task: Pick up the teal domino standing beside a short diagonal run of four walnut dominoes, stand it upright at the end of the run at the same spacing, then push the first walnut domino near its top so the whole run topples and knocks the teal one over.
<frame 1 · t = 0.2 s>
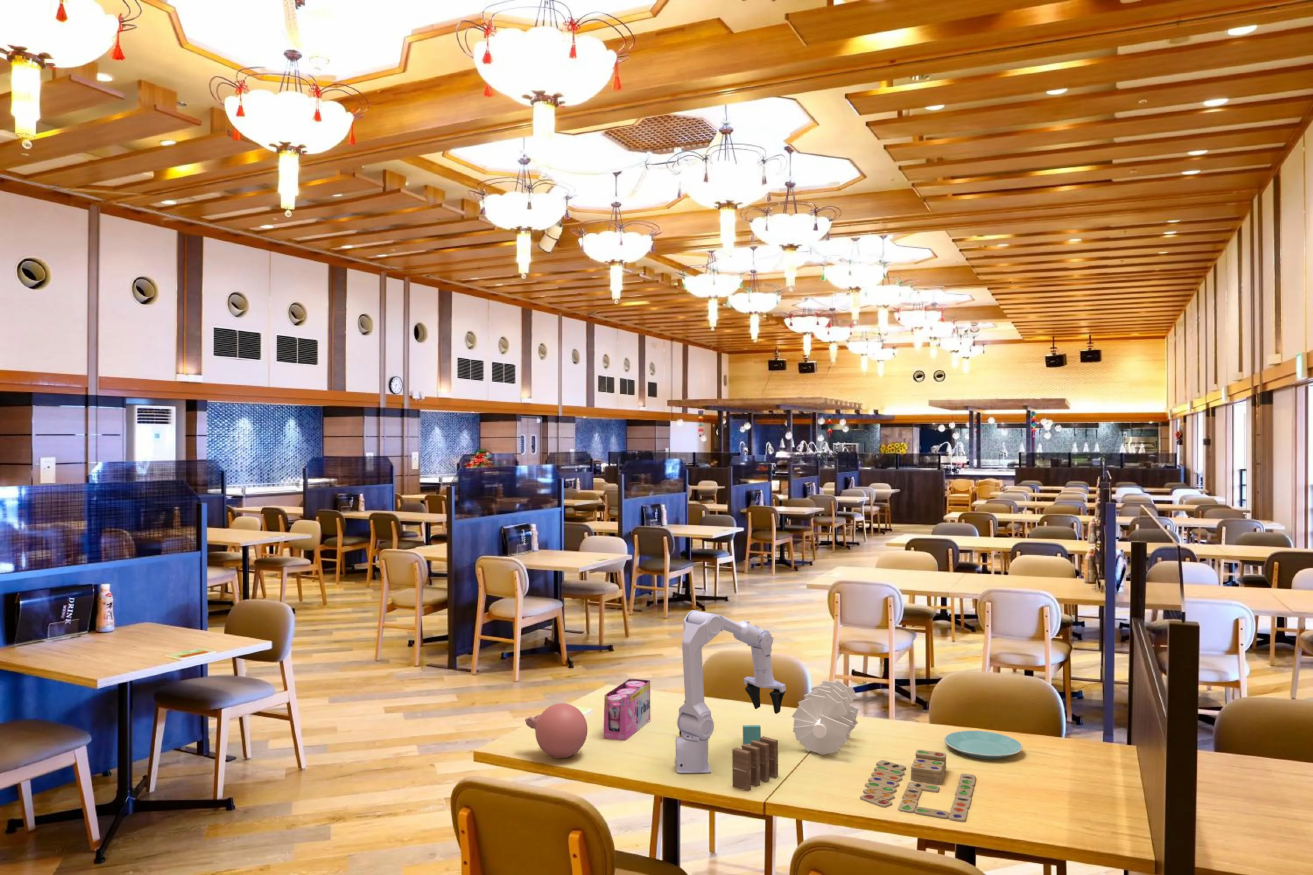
hand: (767, 710, 266), 11 cm above the table, tool pointing down, fingers open, 7 cm apart
walnut domino 2: (750, 783, 234), on the table
walnut domino 3: (760, 779, 237), on the table
spiral staircase: (826, 745, 265), on the table
walnut domino 1: (741, 787, 231), on the table
teal domino: (751, 760, 251), on the table
medicine bottle: (694, 737, 273), on the table
pink water balloon: (554, 755, 256), on the table
pile of dominoes: (918, 791, 229), on the table
walnut domino 4: (769, 774, 240), on the table
plate: (982, 751, 260), on the table
gum box: (627, 729, 281), on the table
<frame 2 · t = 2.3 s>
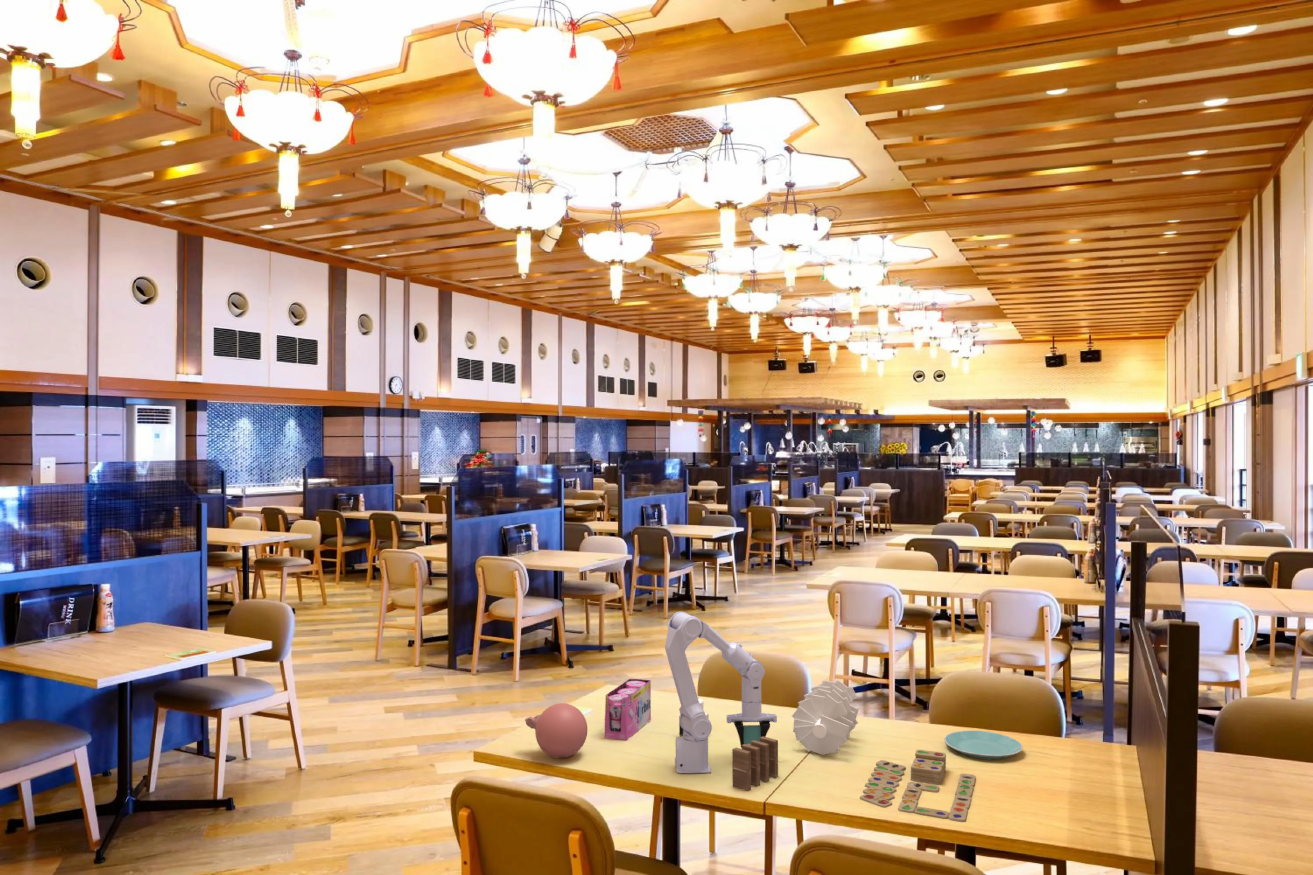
hand: (751, 746, 251), 4 cm above the table, tool pointing down, fingers closed on teal domino, 5 cm apart
teal domino: (751, 760, 251), on the table, touching gripper
everything else where it was.
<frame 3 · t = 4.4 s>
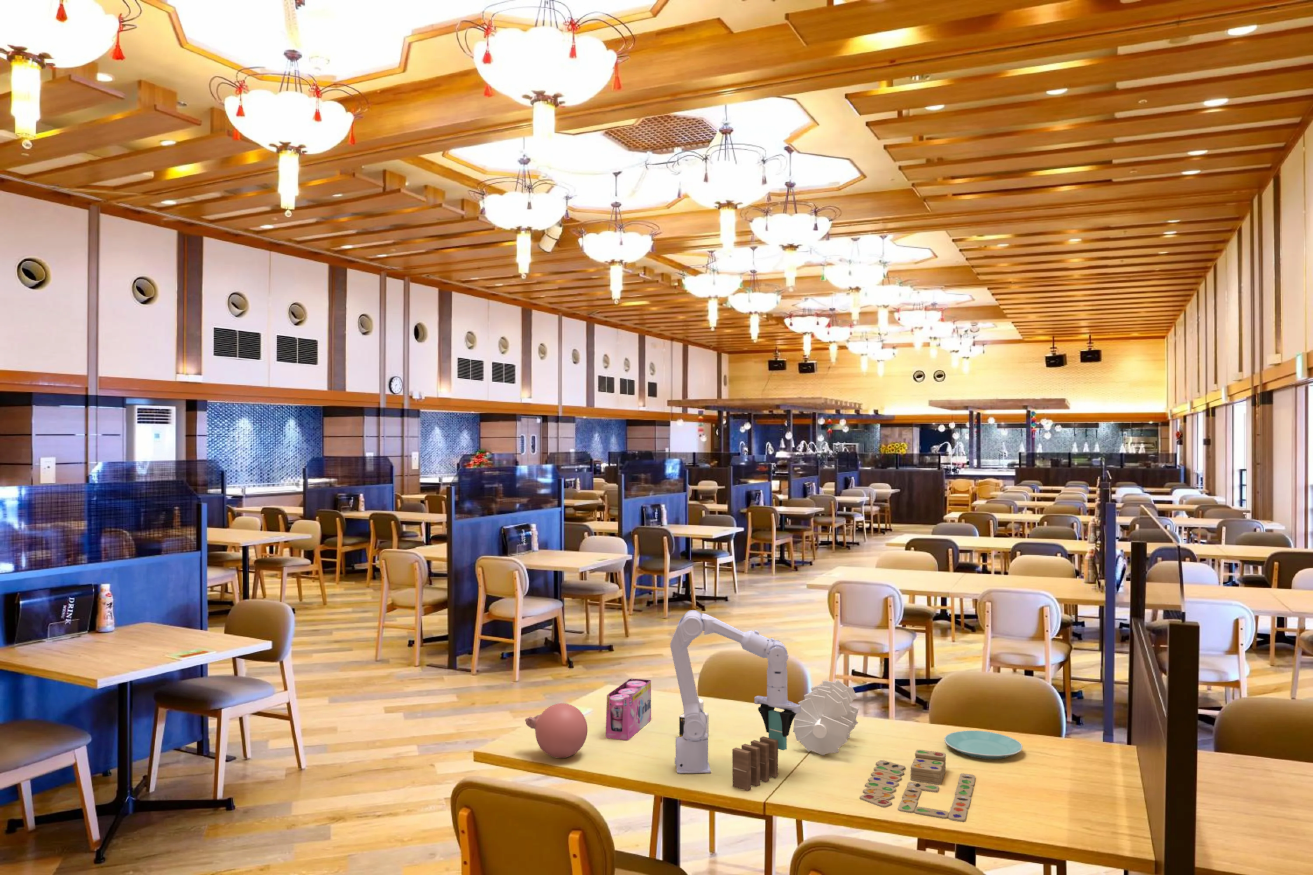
hand: (777, 733, 243), 10 cm above the table, tool pointing down, fingers closed on teal domino, 5 cm apart
teal domino: (777, 747, 243), point 6 cm above the table, touching gripper
everything else where it was.
when the fingers open (4 cm above the table, at t = 6.4 s): teal domino stays where it is, on the table.
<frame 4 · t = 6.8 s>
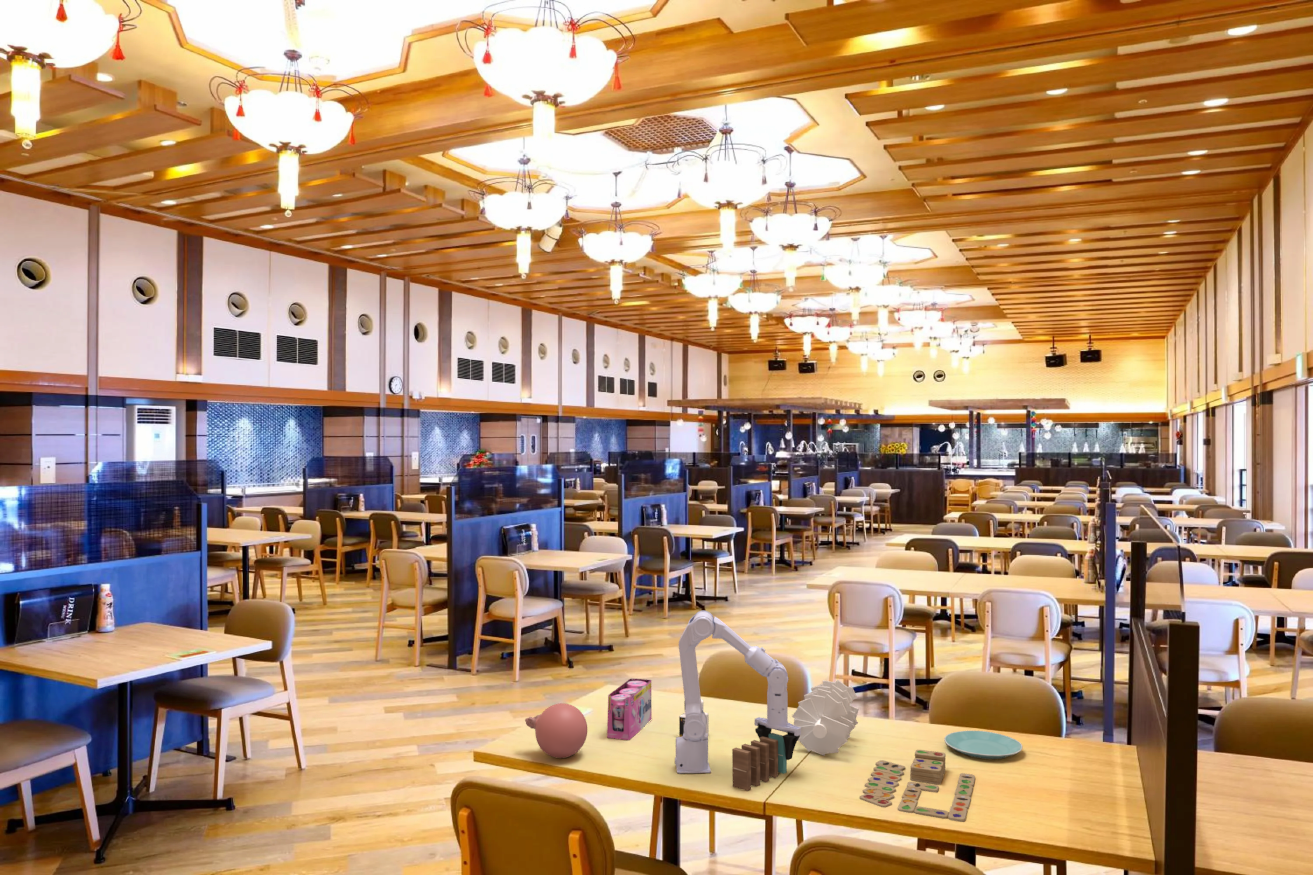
hand: (777, 755, 243), 4 cm above the table, tool pointing down, fingers open, 7 cm apart
teal domino: (777, 770, 243), on the table
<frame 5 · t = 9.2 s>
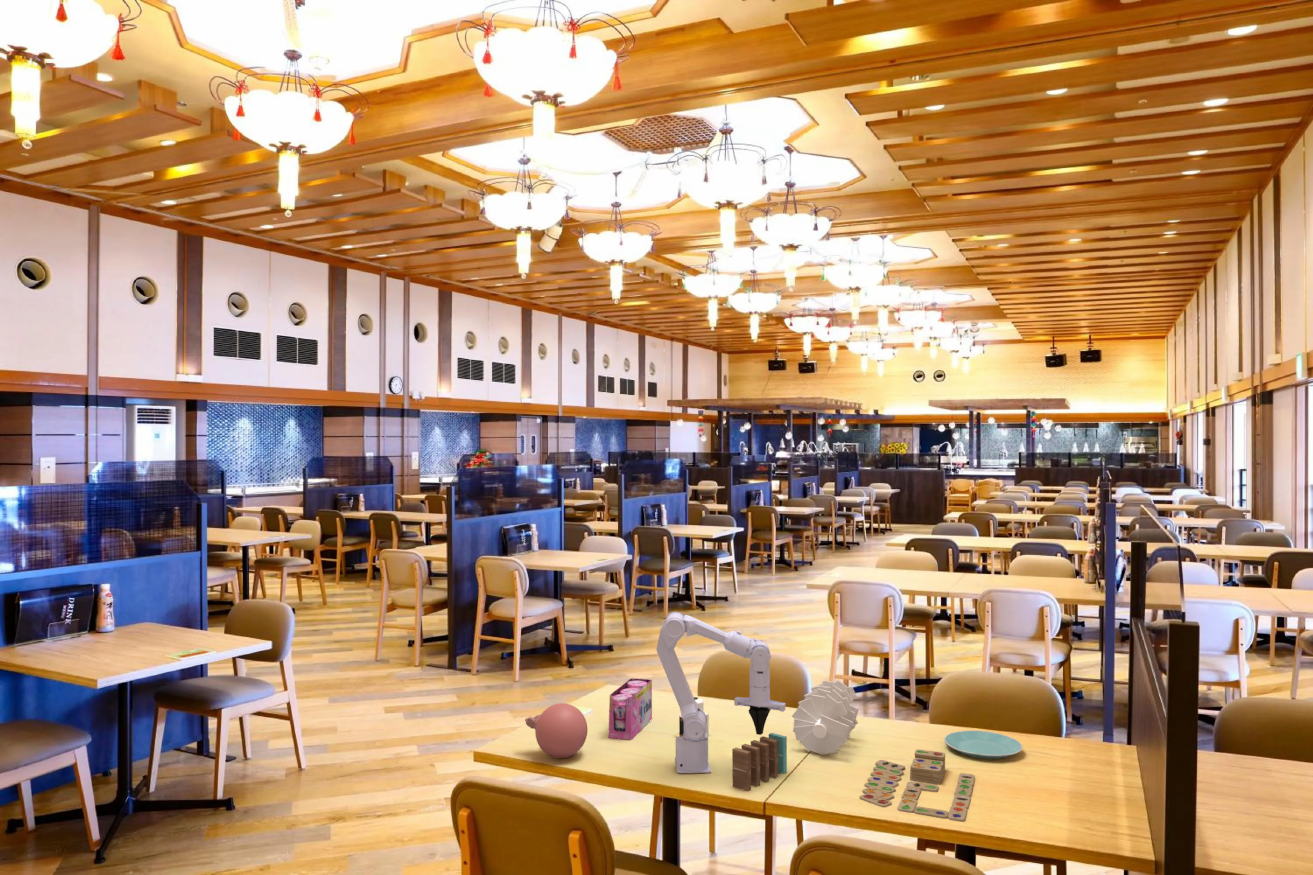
hand: (759, 733, 244), 10 cm above the table, tool pointing down, fingers closed
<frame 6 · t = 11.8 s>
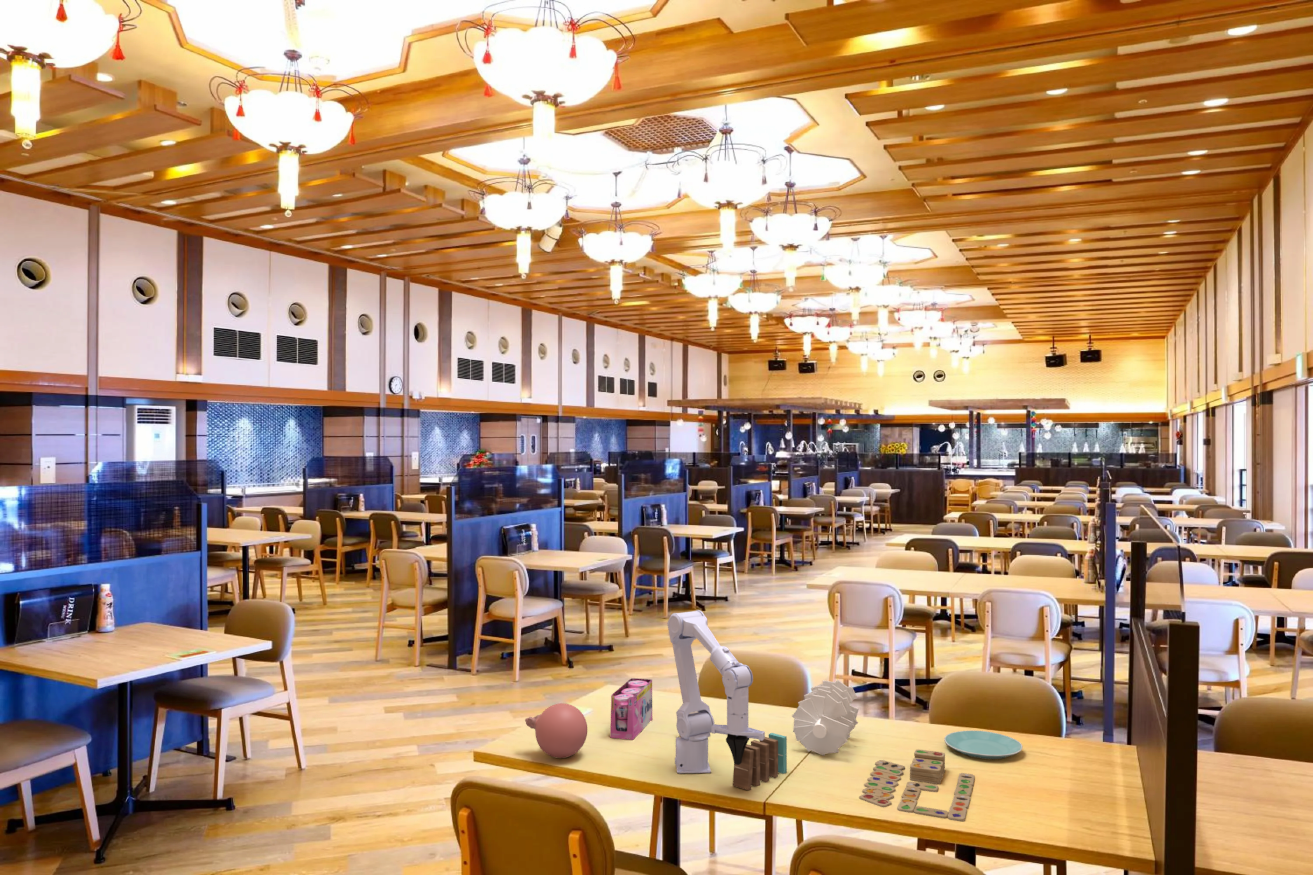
hand: (737, 763, 230), 7 cm above the table, tool pointing down, fingers closed
walnut domino 1: (741, 787, 231), on the table, tilted 7°
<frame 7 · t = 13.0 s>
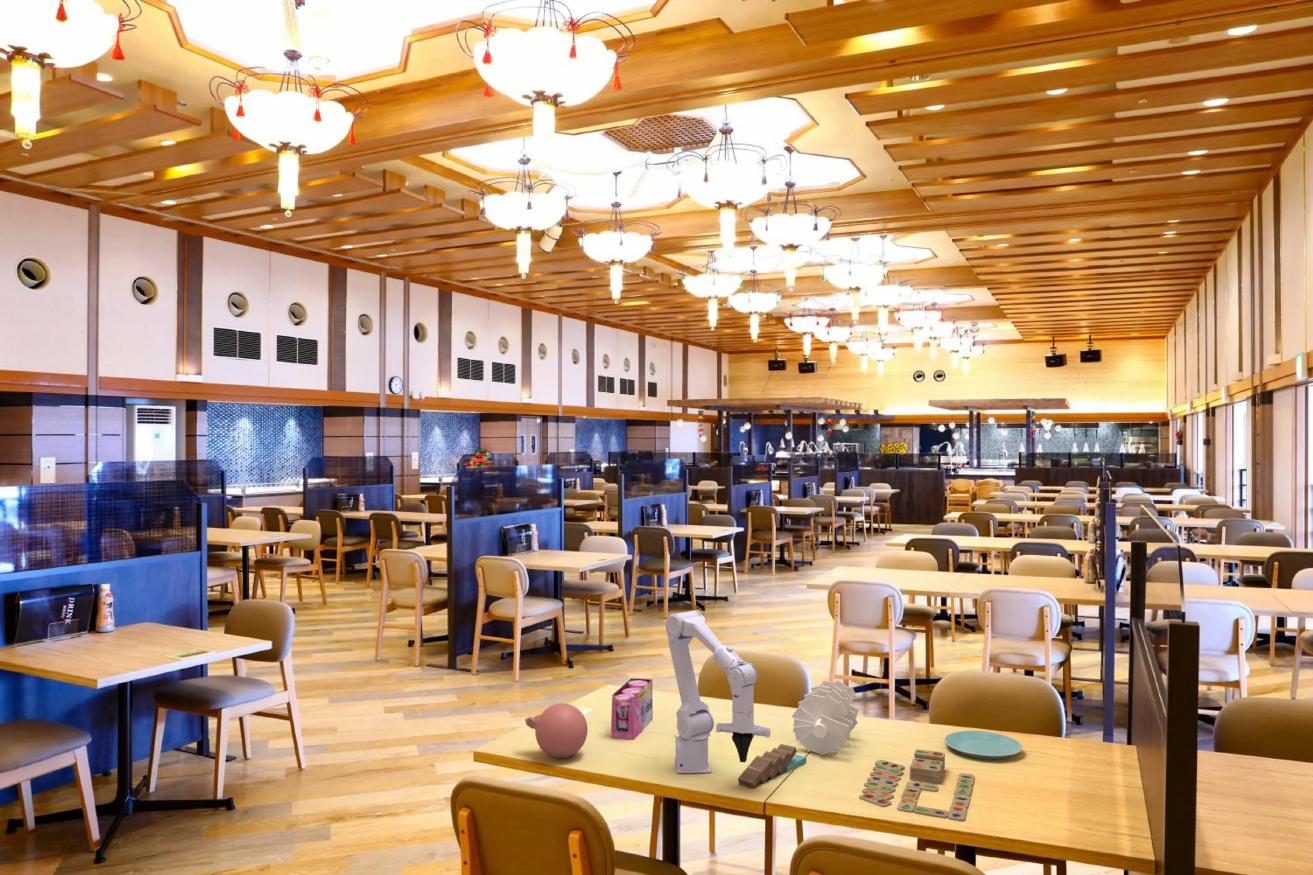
hand: (743, 760, 231), 7 cm above the table, tool pointing down, fingers closed
walnut domino 2: (755, 778, 235), point 1 cm above the table, tilted 66°, touching walnut domino 1, walnut domino 3
walnut domino 3: (763, 774, 238), point 1 cm above the table, tilted 67°, touching walnut domino 2, walnut domino 4
walnut domino 1: (745, 783, 232), point 1 cm above the table, tilted 67°, touching walnut domino 2
teal domino: (779, 767, 244), point 1 cm above the table, tilted 89°, touching walnut domino 4
walnut domino 4: (772, 770, 241), point 1 cm above the table, tilted 67°, touching teal domino, walnut domino 3
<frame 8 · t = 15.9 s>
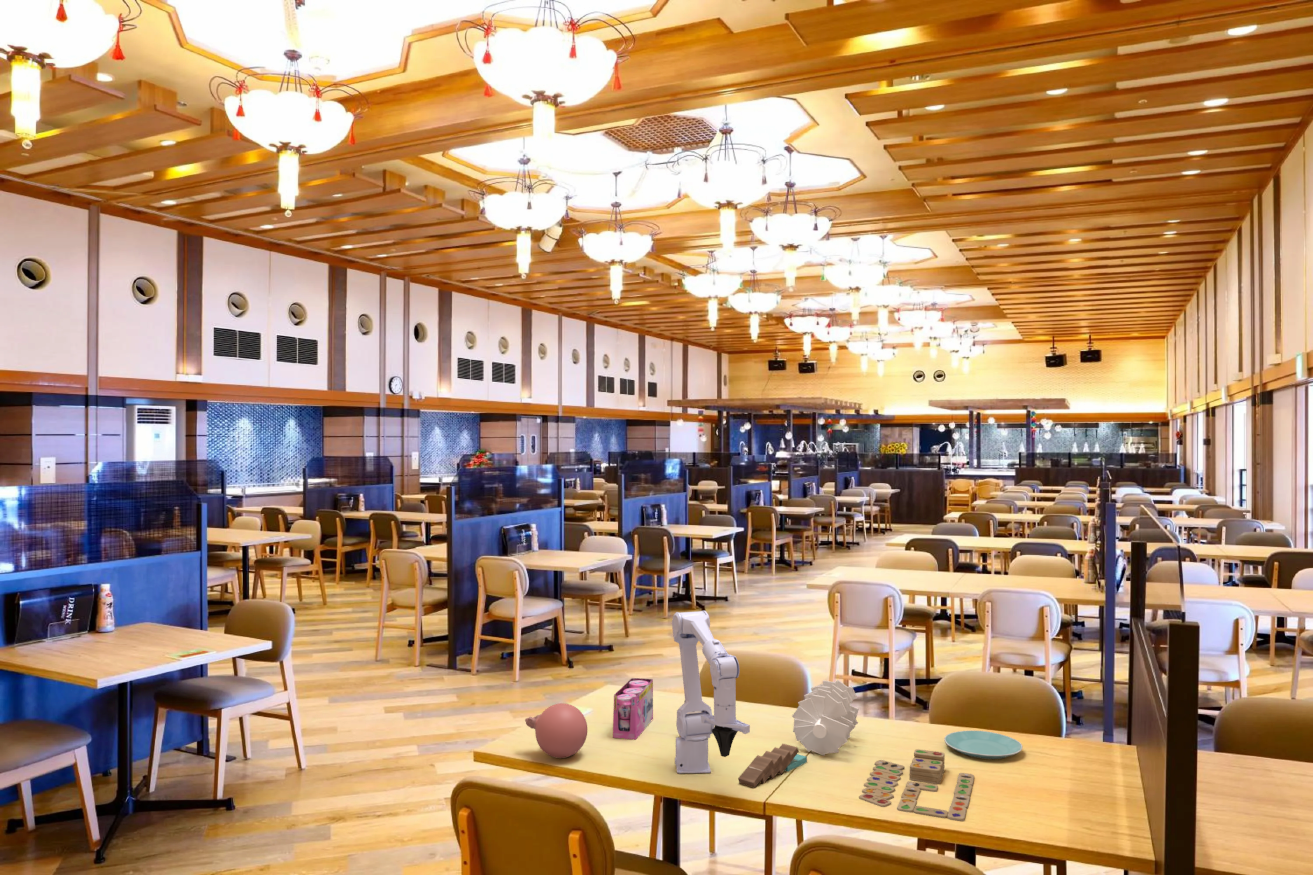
hand: (725, 755, 226), 10 cm above the table, tool pointing down, fingers closed
walnut domino 2: (755, 778, 235), point 1 cm above the table, tilted 66°, touching walnut domino 1, walnut domino 3
walnut domino 4: (772, 770, 241), point 1 cm above the table, tilted 66°, touching teal domino, walnut domino 3
at the end: teal domino tilted 89°; walnut domino 4 tilted 67°; teal domino 3.7 cm from the walnut domino 4 (horizontally) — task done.
